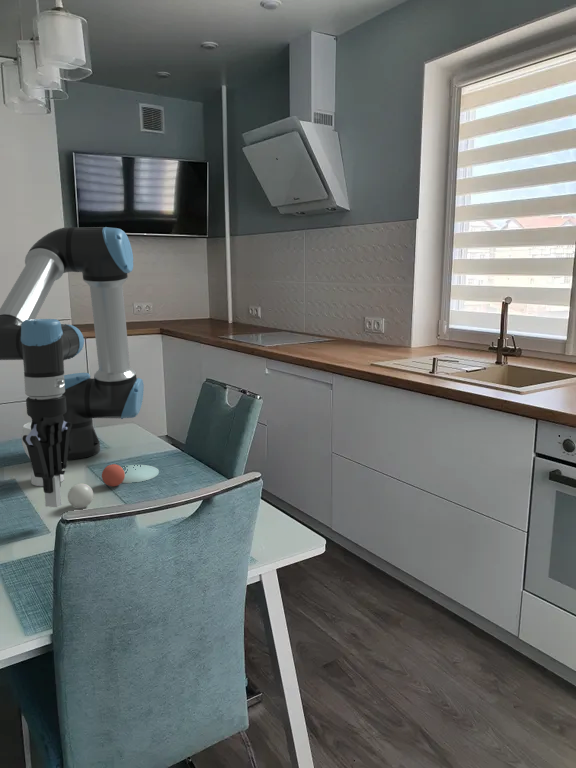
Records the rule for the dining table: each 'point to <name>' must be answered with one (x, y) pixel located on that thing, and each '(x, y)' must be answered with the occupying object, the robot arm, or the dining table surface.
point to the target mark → (139, 473)
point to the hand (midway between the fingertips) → (53, 505)
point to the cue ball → (80, 495)
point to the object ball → (113, 475)
